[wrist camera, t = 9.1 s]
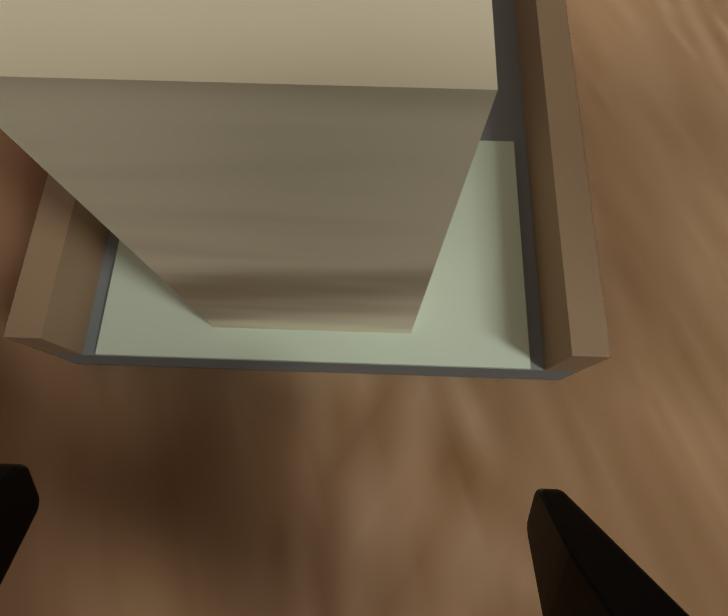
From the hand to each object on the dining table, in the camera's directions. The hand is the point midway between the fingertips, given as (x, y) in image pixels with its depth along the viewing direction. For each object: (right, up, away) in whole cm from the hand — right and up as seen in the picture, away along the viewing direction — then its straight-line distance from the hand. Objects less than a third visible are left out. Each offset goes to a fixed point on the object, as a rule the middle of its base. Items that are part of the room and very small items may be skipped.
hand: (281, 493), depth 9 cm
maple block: (0, +5, +7) cm, 9 cm away
